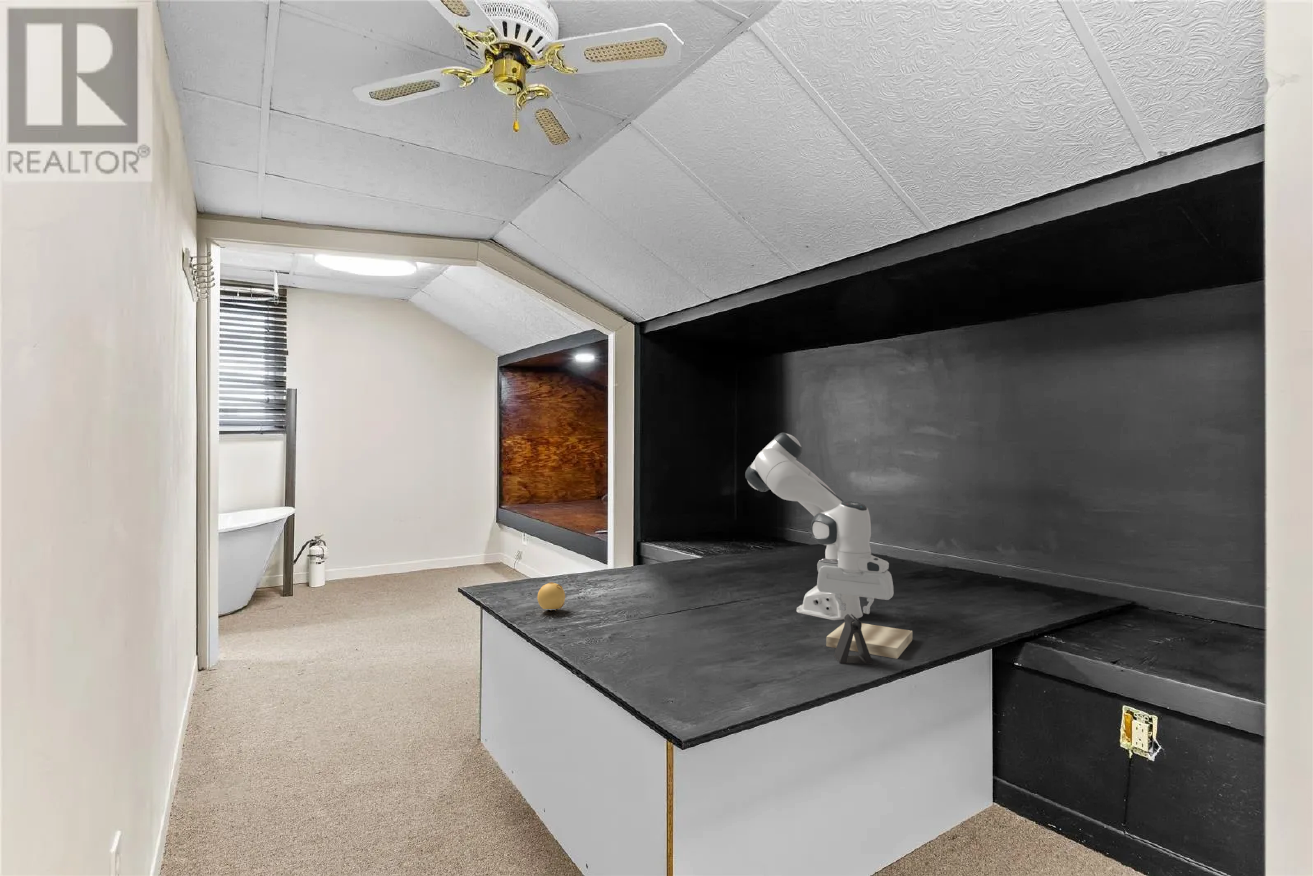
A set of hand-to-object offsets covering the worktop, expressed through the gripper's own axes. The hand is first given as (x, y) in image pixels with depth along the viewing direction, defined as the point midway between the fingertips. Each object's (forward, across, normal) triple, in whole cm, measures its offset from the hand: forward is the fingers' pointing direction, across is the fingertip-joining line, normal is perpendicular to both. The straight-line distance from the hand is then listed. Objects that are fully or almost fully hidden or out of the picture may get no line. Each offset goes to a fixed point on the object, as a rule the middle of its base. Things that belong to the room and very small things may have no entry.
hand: (854, 611), depth 178 cm
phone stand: (+14, 0, 0) cm, 14 cm away
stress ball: (+13, -106, -5) cm, 107 cm away
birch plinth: (+14, 0, +18) cm, 22 cm away
